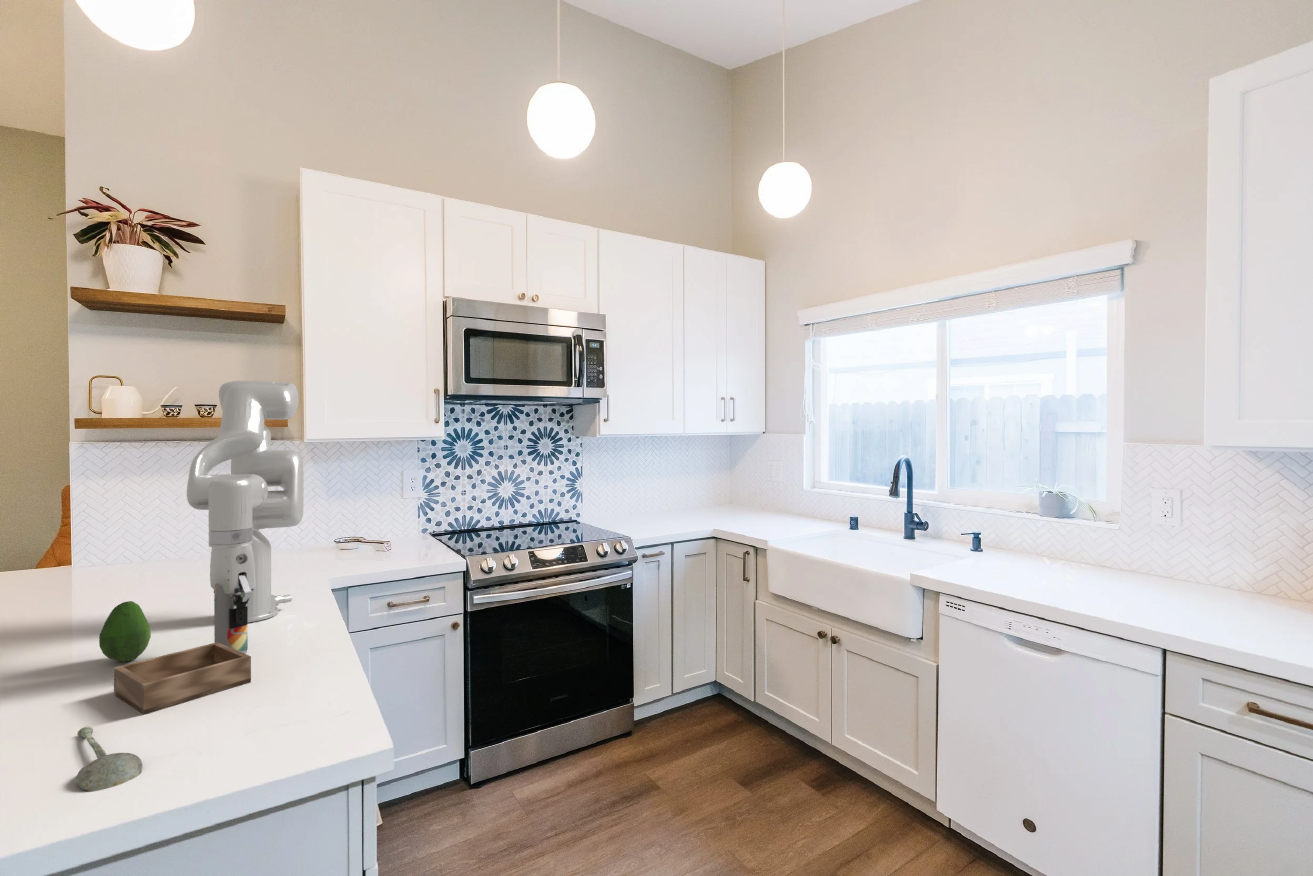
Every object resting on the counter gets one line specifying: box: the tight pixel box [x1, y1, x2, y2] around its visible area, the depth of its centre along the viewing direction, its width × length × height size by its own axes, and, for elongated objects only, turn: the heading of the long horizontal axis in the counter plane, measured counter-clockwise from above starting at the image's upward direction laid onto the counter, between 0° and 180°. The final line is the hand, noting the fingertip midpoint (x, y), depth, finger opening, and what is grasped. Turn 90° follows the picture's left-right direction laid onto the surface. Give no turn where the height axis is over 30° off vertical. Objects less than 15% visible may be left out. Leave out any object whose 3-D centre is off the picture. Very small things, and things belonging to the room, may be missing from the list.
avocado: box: [98, 600, 152, 662], centre depth 125 cm, size 8×8×12 cm
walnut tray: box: [113, 642, 252, 715], centre depth 112 cm, size 16×14×5 cm
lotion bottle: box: [213, 583, 249, 654], centre depth 128 cm, size 6×6×20 cm
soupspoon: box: [75, 725, 144, 793], centre depth 88 cm, size 22×3×7 cm
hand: (231, 623), depth 128 cm, fingers closed on lotion bottle, 5 cm apart
